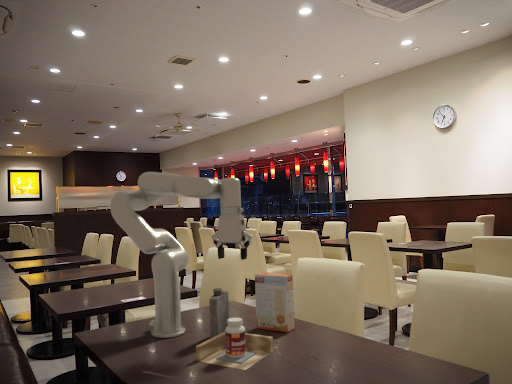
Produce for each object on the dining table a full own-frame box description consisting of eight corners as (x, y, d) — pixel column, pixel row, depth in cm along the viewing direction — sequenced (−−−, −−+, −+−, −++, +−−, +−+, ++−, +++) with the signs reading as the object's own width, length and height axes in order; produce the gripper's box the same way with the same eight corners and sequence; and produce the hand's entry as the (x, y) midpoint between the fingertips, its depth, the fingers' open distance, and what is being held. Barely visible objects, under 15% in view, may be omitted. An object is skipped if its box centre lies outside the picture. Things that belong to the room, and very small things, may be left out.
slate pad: (216, 359, 129) (216, 358, 129) (232, 350, 137) (232, 348, 137) (241, 363, 125) (241, 362, 125) (256, 354, 133) (256, 352, 133)
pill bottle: (231, 360, 127) (230, 323, 127) (222, 354, 132) (221, 319, 132) (249, 355, 130) (248, 319, 131) (239, 350, 136) (238, 315, 136)
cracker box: (295, 329, 160) (293, 273, 161) (288, 333, 155) (286, 276, 156) (264, 324, 168) (262, 271, 168) (256, 328, 162) (254, 274, 163)
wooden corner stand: (196, 362, 129) (195, 346, 129) (227, 345, 144) (227, 330, 144) (245, 372, 120) (245, 354, 120) (273, 352, 135) (272, 336, 136)
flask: (207, 345, 145) (205, 292, 145) (221, 332, 158) (219, 284, 159) (217, 346, 144) (215, 292, 144) (230, 333, 158) (229, 284, 158)
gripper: (256, 211, 153) (258, 258, 153) (217, 212, 162) (218, 256, 161) (246, 211, 147) (247, 261, 146) (205, 212, 155) (207, 259, 154)
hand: (232, 258), depth 154 cm, fingers open, 9 cm apart
